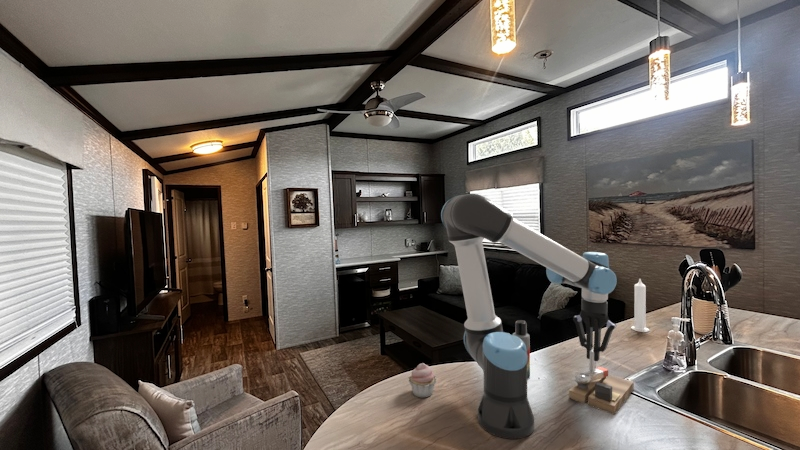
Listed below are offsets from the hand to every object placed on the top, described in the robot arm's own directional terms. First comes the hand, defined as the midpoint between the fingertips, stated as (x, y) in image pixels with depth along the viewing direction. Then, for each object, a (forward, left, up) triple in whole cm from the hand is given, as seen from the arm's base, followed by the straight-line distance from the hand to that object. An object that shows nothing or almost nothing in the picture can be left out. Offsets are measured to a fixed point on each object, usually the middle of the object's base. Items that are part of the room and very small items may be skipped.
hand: (592, 369), depth 115 cm
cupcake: (-43, +37, -6) cm, 57 cm away
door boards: (-3, -3, -6) cm, 7 cm away
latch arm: (-4, -1, -1) cm, 4 cm away
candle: (+74, +3, -6) cm, 74 cm away
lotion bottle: (-10, +20, -6) cm, 23 cm away
